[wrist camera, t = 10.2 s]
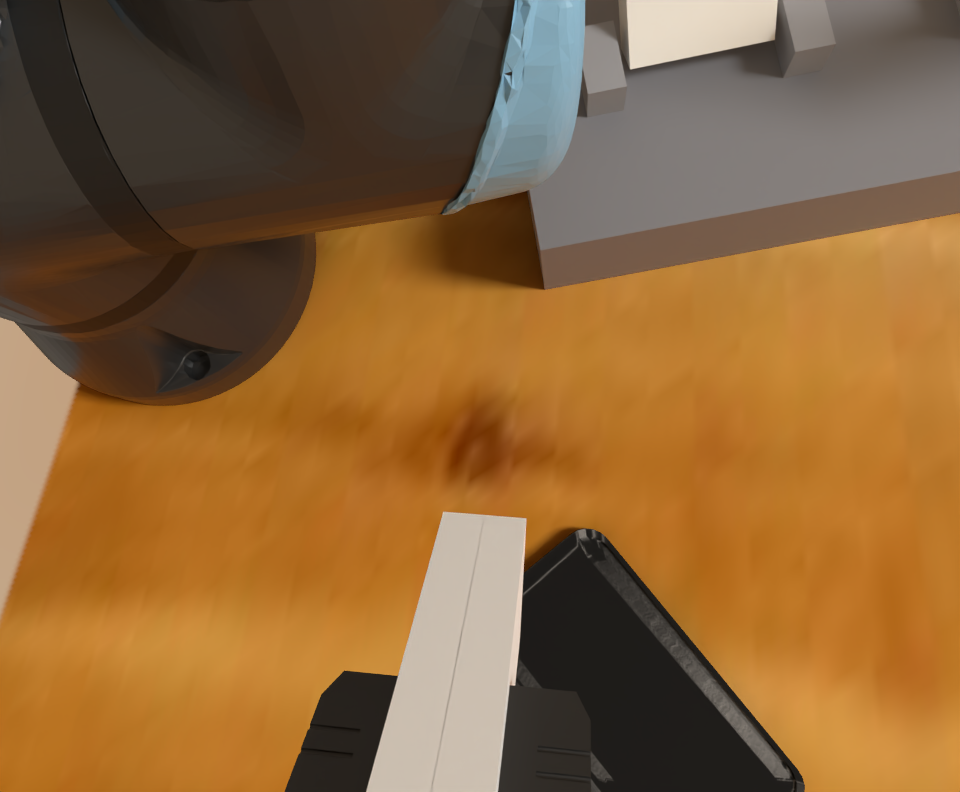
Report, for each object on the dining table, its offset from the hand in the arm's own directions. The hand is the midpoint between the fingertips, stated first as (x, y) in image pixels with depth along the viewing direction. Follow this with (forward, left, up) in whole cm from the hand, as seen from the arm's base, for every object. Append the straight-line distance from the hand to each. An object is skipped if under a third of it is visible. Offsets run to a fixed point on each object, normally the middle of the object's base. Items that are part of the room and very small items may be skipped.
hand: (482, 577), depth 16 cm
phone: (+6, -5, -25) cm, 26 cm away
